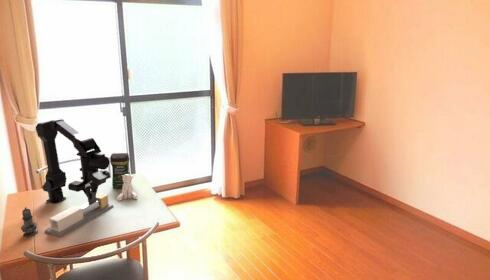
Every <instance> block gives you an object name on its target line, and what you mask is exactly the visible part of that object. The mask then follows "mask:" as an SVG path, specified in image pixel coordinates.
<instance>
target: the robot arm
mask: <svg viewBox="0 0 490 280" xmlns="http://www.w3.org/2000/svg"><path fill="white" fill-rule="evenodd" d="M35 132H36V134H37V138H39V139H40V140H41V141H42V144H43V149H44V155H45V161H46V165H47V166H46V167H47V172H46V174H45V177H44V178H45V182H44V183H43V185H42V187H41V188H42V190H43V192H46V193H47V196H48V199H46V202H47V203H51V204H57V203H60V202H62V201H65V200H66V199H67V197H66V196H64V192H63V189H62V188H63V187H64V188H65V187H66V184H67V183H66V182H67V179H68V178H67V176H66V172H65V171H63V170H62V168H61V167H60V161H59V157H58V156H59V155H58V149H57V143H56V139H57V136H58V133H60V134H61V135H62V136H64V137H65V138H66V139H68V141H70V142H71V143H72V144H73V145H72V146H73V148H74V149H75V150H76V151H77V153H76V156H79V157H80V158H79V159H80V166H81V167H80V168H79V171H80V172H81V174H82V175H81V176H80V180H82V181H79V180H73V181H72V182H70V183H68V186H67V189H68V190H69V191H73V192H81V191H82V192H83V193H84V194H85V196H86V197H87V200H88V199H91V191H94V192H95V193H96V194H98V193H97V192H98V188H99V186H100V185H103V184H106V183H107V179H110V178H111V174H110V172H109V170H107V169H108V168H109V166H110V164H111V163H110V159H109V157H107V156H106V154H105V153H102V150H101V149H100V148H101V147H99V145H98V143H97V142H96V140H95V139H94V137H92V136H90V135H87V134H85V133H84V134H83V133H80V132H79V131H77V130H76V129H75V128H74V127H73V126H71V125H69V124H68V123H67V122H65V120H64V119H63V118H56V119H52V120H47V121H44V122H43V121H42V122H39V123H37V124H36V125H35Z"/></svg>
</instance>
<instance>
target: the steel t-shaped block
mask: <svg viewBox="0 0 490 280" xmlns="http://www.w3.org/2000/svg"><path fill="white" fill-rule="evenodd" d="M90 191H91V190H90ZM96 195H97V193H95V192H94V191H91V199H88V198H87V202H86V203H84V204H82V205H80V206H78V207H79V208H82V210H83V215H85V214H87V213H88V212H90V211H92V210H94V209H96V208H98V207H99V206H101V204H100V199H96Z"/></svg>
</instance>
